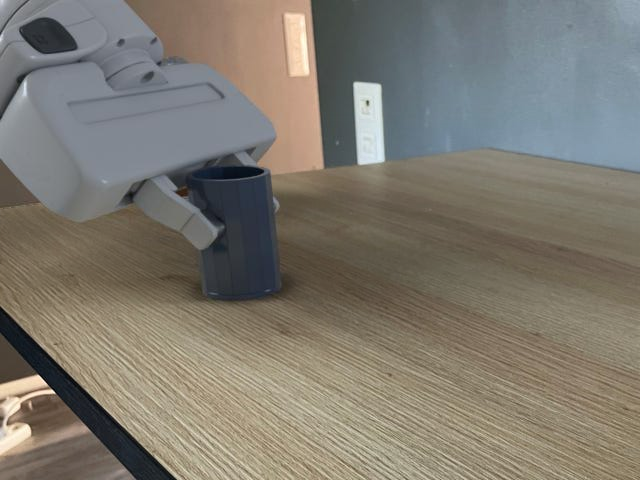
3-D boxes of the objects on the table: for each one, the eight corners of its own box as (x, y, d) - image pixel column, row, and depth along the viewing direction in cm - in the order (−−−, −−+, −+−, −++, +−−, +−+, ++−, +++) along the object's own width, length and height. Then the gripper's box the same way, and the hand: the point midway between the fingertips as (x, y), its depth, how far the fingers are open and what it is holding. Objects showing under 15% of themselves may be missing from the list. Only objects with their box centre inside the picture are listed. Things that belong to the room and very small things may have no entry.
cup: (189, 301, 52) (170, 179, 49) (222, 277, 57) (207, 163, 54) (265, 305, 52) (252, 182, 48) (292, 280, 56) (281, 166, 53)
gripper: (168, 86, 61) (293, 221, 63) (-67, 120, 43) (116, 307, 45) (210, 24, 58) (341, 167, 60) (-22, 33, 40) (172, 236, 42)
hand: (243, 228), depth 52 cm, fingers closed on cup, 5 cm apart
